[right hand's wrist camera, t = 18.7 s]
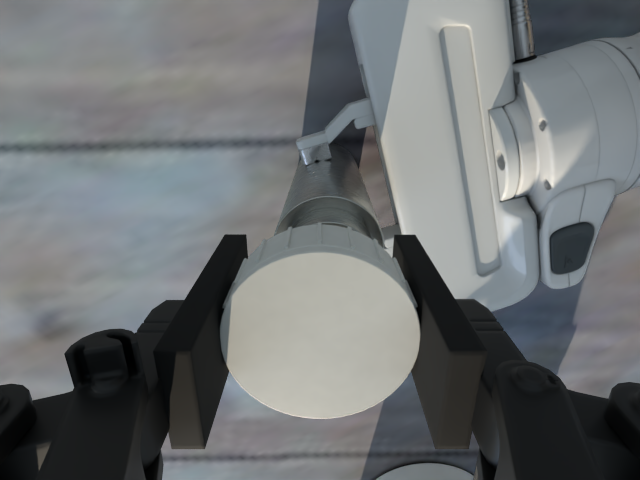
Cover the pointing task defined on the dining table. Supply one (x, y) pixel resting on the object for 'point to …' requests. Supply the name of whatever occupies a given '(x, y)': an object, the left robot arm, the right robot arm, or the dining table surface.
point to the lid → (320, 323)
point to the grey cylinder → (330, 197)
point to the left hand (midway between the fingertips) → (314, 199)
